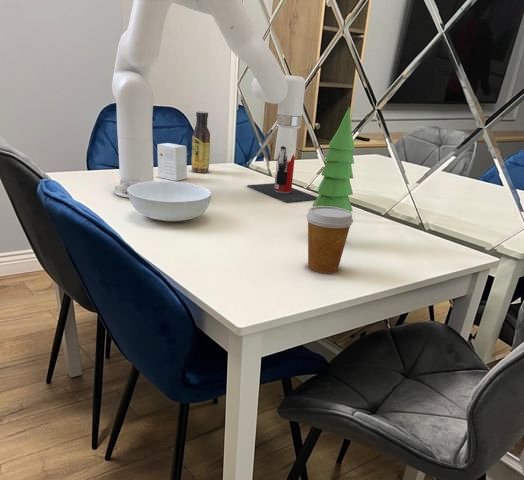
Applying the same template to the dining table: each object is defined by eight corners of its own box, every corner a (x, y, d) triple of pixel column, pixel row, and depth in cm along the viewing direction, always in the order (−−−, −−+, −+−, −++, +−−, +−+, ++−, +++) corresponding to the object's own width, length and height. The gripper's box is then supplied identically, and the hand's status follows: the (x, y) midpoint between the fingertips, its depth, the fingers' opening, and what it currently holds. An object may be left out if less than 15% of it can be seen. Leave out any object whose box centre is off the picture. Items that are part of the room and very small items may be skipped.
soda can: (294, 192, 172) (298, 153, 166) (283, 194, 168) (286, 154, 162) (282, 188, 175) (285, 150, 169) (270, 190, 171) (273, 151, 166)
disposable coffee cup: (341, 261, 117) (349, 207, 111) (349, 277, 109) (358, 219, 103) (298, 259, 117) (304, 204, 111) (302, 275, 108) (309, 216, 102)
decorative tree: (349, 238, 133) (370, 107, 119) (344, 249, 125) (365, 109, 111) (311, 232, 135) (327, 102, 121) (303, 242, 127) (319, 105, 113)
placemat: (320, 199, 167) (320, 198, 167) (287, 202, 161) (287, 201, 160) (278, 184, 183) (279, 182, 183) (247, 186, 176) (247, 185, 176)
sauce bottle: (189, 169, 193) (189, 110, 183) (205, 169, 195) (206, 110, 186) (195, 173, 188) (195, 112, 178) (211, 173, 190) (213, 113, 181)
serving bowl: (114, 221, 130) (112, 193, 127) (149, 203, 148) (148, 177, 145) (194, 233, 127) (195, 204, 124) (221, 213, 145) (222, 187, 142)
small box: (187, 179, 179) (187, 146, 174) (176, 181, 175) (176, 147, 170) (168, 175, 183) (168, 142, 177) (157, 177, 178) (156, 143, 173)
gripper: (283, 117, 169) (278, 176, 178) (270, 122, 155) (265, 186, 163) (306, 120, 168) (300, 179, 177) (295, 125, 153) (289, 189, 162)
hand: (283, 182), depth 170 cm, fingers closed on soda can, 5 cm apart
